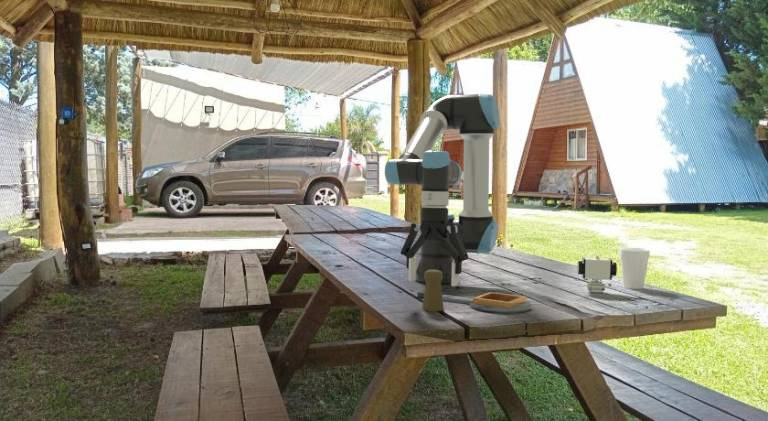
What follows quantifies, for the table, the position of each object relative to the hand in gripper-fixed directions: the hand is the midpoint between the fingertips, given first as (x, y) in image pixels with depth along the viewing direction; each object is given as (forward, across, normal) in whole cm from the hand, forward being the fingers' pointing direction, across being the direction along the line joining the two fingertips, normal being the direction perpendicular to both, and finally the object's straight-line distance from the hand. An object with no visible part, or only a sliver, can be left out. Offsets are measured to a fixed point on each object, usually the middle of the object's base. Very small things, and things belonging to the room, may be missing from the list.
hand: (433, 283), depth 175 cm
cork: (+8, 0, 0) cm, 8 cm away
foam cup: (+7, +38, +72) cm, 82 cm away
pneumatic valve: (+7, +30, +56) cm, 63 cm away
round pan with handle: (+7, +5, +15) cm, 17 cm away
